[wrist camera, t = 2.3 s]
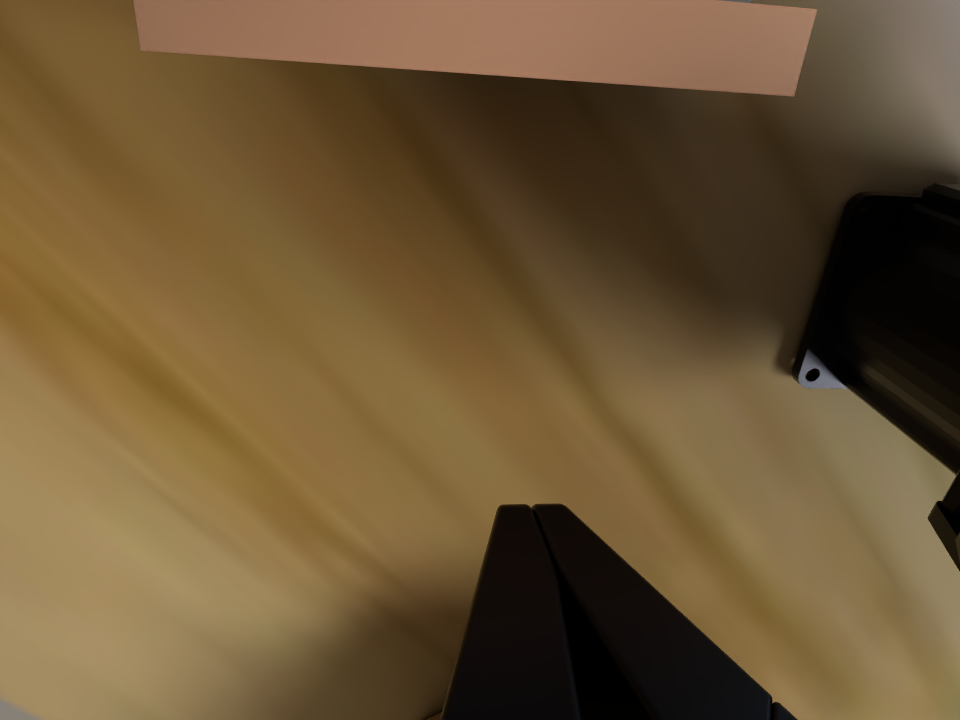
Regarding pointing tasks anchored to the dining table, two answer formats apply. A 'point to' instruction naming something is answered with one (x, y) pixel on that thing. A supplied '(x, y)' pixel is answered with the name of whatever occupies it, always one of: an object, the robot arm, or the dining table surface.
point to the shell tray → (505, 37)
